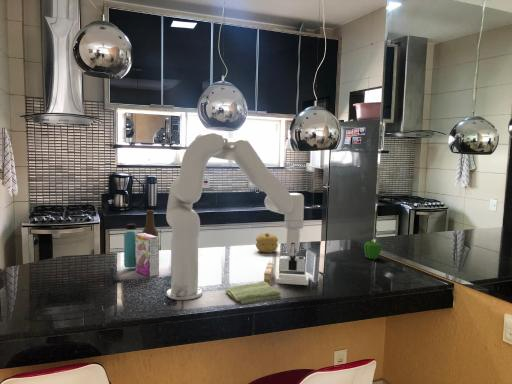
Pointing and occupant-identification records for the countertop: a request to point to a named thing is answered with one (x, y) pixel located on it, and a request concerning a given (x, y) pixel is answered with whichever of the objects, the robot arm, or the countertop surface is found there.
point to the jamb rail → (268, 273)
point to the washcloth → (253, 292)
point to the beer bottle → (150, 224)
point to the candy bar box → (147, 254)
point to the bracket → (292, 279)
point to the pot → (266, 243)
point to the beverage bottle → (130, 247)
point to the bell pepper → (372, 250)
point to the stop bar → (285, 263)
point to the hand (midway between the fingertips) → (292, 268)
